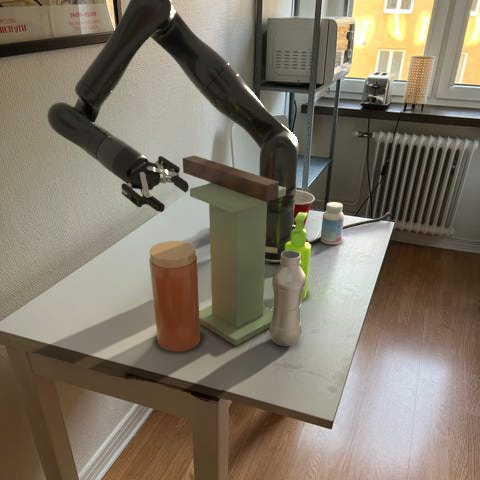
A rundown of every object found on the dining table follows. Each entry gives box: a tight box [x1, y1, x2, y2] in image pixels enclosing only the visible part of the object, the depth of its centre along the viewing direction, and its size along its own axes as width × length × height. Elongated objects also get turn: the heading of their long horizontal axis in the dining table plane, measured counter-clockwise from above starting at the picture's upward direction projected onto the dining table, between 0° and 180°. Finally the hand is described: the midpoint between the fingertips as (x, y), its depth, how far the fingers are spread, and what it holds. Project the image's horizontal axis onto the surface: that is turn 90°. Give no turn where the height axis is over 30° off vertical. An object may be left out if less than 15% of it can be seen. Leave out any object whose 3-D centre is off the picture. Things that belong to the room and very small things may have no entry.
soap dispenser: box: [285, 212, 312, 301], centre depth 114 cm, size 6×7×20 cm
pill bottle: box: [320, 201, 345, 245], centre depth 144 cm, size 6×6×11 cm
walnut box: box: [182, 155, 279, 202], centre depth 95 cm, size 24×3×3 cm, turn 43°
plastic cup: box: [293, 189, 316, 230], centre depth 148 cm, size 11×11×12 cm
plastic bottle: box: [268, 250, 306, 347], centre depth 98 cm, size 6×7×20 cm
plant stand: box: [189, 182, 286, 346], centre depth 102 cm, size 14×14×30 cm
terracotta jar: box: [148, 240, 201, 352], centre depth 98 cm, size 9×9×20 cm
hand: (175, 198), depth 112 cm, fingers open, 8 cm apart
